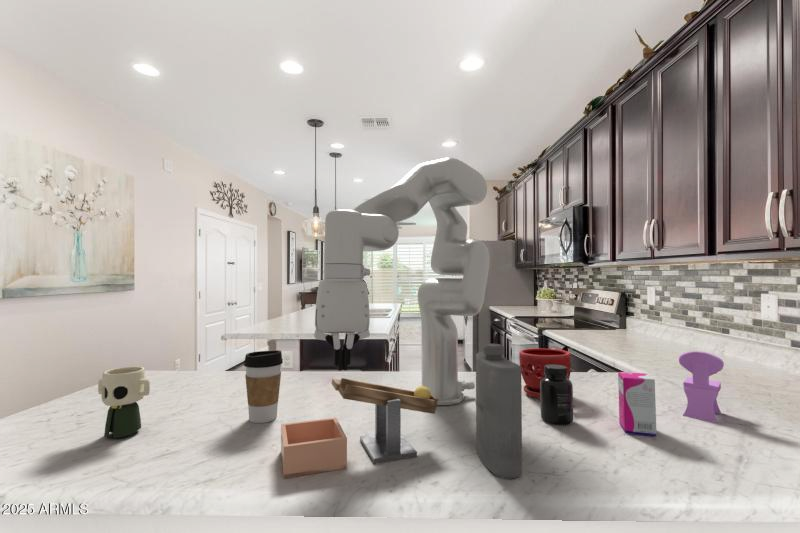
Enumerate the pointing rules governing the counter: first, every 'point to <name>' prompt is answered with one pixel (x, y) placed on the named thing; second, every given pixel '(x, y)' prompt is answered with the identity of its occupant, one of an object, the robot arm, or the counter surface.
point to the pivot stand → (388, 435)
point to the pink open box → (312, 447)
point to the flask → (498, 412)
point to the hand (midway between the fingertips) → (341, 368)
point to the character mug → (123, 399)
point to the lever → (383, 395)
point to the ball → (422, 392)
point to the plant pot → (540, 366)
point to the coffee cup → (263, 384)
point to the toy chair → (701, 384)
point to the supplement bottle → (556, 396)
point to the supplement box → (637, 403)
